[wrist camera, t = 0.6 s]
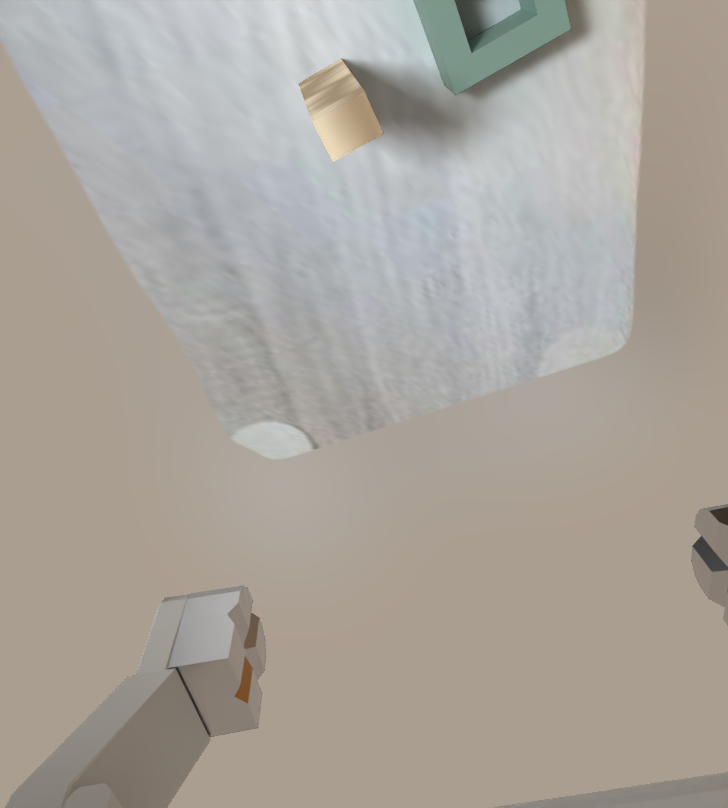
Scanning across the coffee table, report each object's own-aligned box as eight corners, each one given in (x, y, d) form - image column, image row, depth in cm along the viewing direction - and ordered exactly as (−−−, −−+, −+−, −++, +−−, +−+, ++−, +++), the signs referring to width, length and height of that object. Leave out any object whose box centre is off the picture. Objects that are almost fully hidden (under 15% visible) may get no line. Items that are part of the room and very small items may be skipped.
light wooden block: (316, 118, 52) (333, 162, 43) (298, 83, 50) (312, 122, 41) (357, 93, 51) (383, 133, 42) (340, 58, 49) (364, 91, 40)
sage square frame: (444, 85, 52) (455, 94, 49) (403, -30, 46) (413, -26, 44) (553, 22, 50) (570, 29, 48) (523, -104, 45) (542, -105, 42)
